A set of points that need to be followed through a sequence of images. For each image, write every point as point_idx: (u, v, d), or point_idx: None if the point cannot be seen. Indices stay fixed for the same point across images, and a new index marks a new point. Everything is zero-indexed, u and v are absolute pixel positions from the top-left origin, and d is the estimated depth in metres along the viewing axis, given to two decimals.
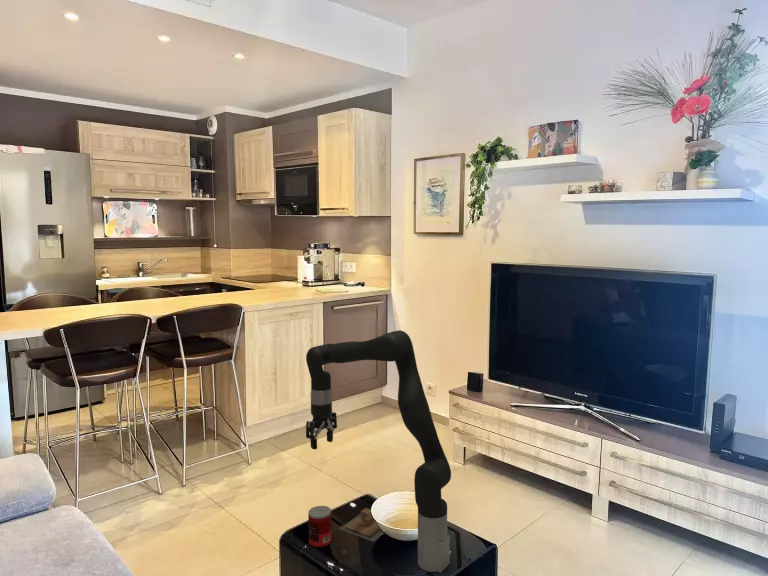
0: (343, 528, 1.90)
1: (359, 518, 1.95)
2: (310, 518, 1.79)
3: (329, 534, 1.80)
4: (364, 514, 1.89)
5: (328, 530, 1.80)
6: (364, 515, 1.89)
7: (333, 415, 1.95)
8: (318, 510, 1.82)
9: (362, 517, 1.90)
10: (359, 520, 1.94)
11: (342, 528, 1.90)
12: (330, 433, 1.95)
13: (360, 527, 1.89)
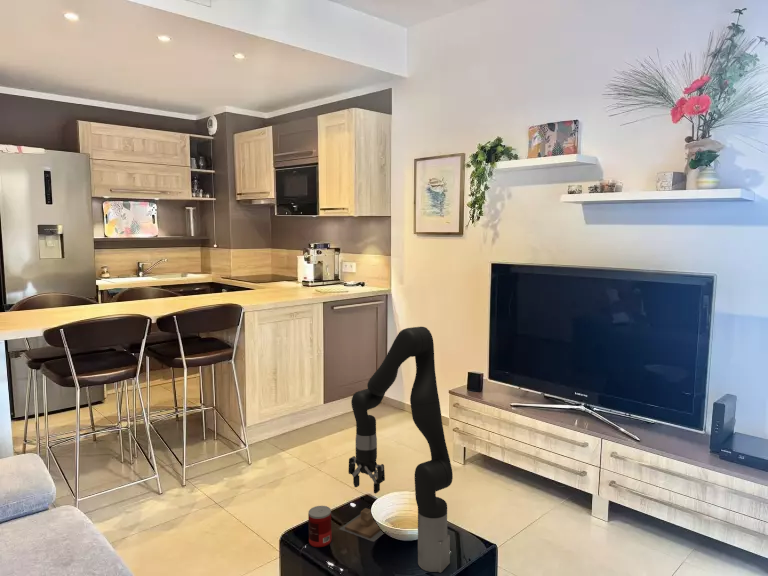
0: (343, 528, 1.90)
1: (359, 518, 1.95)
2: (310, 518, 1.79)
3: (329, 534, 1.80)
4: (364, 514, 1.89)
5: (328, 530, 1.80)
6: (364, 515, 1.89)
7: None
8: (318, 510, 1.82)
9: (362, 517, 1.90)
10: (359, 520, 1.94)
11: (342, 528, 1.90)
12: (358, 477, 1.92)
13: (360, 527, 1.89)
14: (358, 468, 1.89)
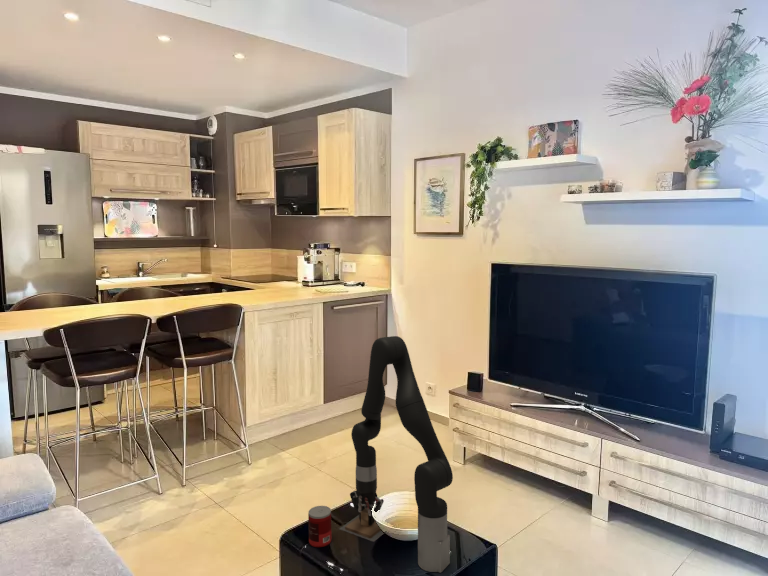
0: (343, 528, 1.90)
1: None
2: (310, 518, 1.79)
3: (329, 534, 1.80)
4: (364, 514, 1.89)
5: (328, 530, 1.80)
6: (364, 515, 1.89)
7: None
8: (318, 510, 1.82)
9: (362, 517, 1.90)
10: (359, 520, 1.94)
11: (342, 528, 1.90)
12: None
13: (360, 527, 1.89)
14: (360, 500, 1.90)
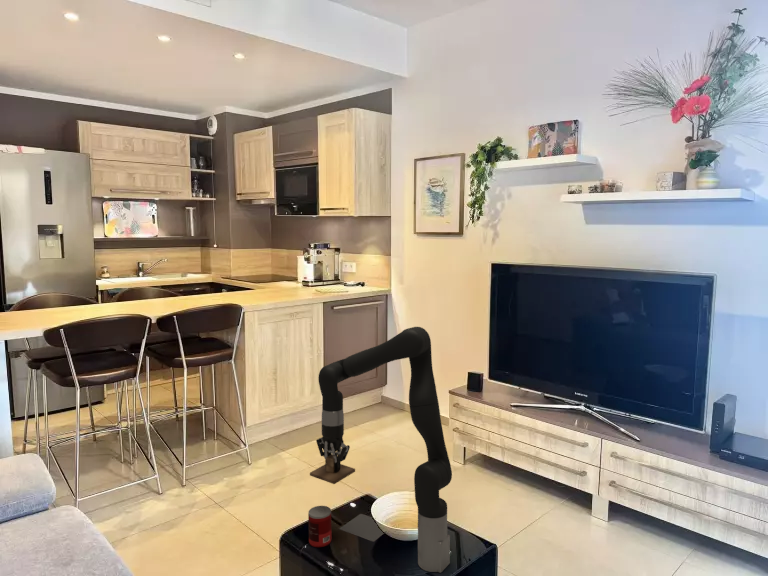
0: (343, 528, 1.90)
1: (326, 465, 1.88)
2: (310, 518, 1.79)
3: (329, 534, 1.80)
4: (329, 460, 1.82)
5: (328, 530, 1.80)
6: (329, 461, 1.82)
7: None
8: (318, 510, 1.82)
9: (327, 463, 1.82)
10: (325, 467, 1.86)
11: (342, 528, 1.90)
12: None
13: (325, 473, 1.81)
14: (325, 446, 1.82)
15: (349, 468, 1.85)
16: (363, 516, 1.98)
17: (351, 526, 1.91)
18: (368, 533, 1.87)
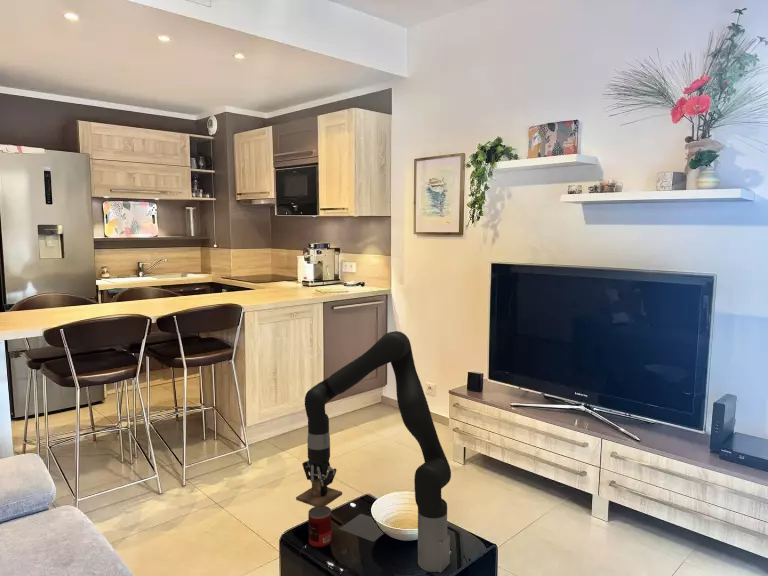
0: (343, 528, 1.90)
1: None
2: (310, 518, 1.79)
3: (329, 534, 1.80)
4: (315, 484, 1.79)
5: (328, 530, 1.80)
6: (316, 485, 1.79)
7: None
8: (318, 510, 1.82)
9: (314, 487, 1.80)
10: None
11: (342, 528, 1.90)
12: None
13: (312, 497, 1.79)
14: (312, 470, 1.80)
15: (336, 491, 1.82)
16: (363, 516, 1.98)
17: (351, 526, 1.91)
18: (368, 533, 1.87)
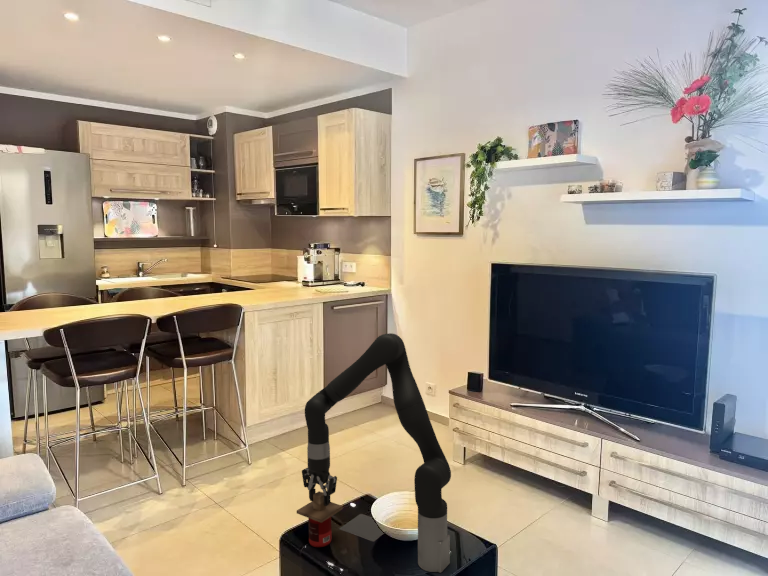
0: (343, 528, 1.90)
1: (313, 502, 1.85)
2: None
3: (329, 534, 1.80)
4: (316, 498, 1.80)
5: (328, 530, 1.80)
6: (317, 499, 1.79)
7: None
8: None
9: (314, 501, 1.80)
10: (312, 504, 1.84)
11: (342, 528, 1.90)
12: (314, 490, 1.83)
13: (312, 511, 1.79)
14: (311, 479, 1.80)
15: (336, 505, 1.83)
16: (363, 516, 1.98)
17: (351, 526, 1.91)
18: (368, 533, 1.87)
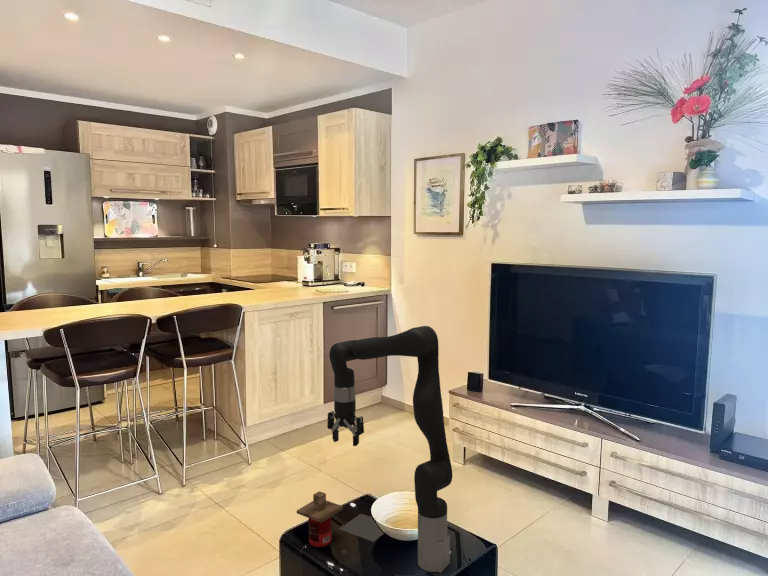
0: (343, 528, 1.90)
1: (313, 502, 1.85)
2: None
3: (329, 534, 1.80)
4: (316, 498, 1.80)
5: (328, 530, 1.80)
6: (317, 499, 1.79)
7: None
8: None
9: (314, 501, 1.80)
10: (312, 504, 1.84)
11: (342, 528, 1.90)
12: (337, 431, 1.91)
13: (312, 511, 1.79)
14: (337, 422, 1.88)
15: (336, 505, 1.83)
16: (363, 516, 1.98)
17: (351, 526, 1.91)
18: (368, 533, 1.87)
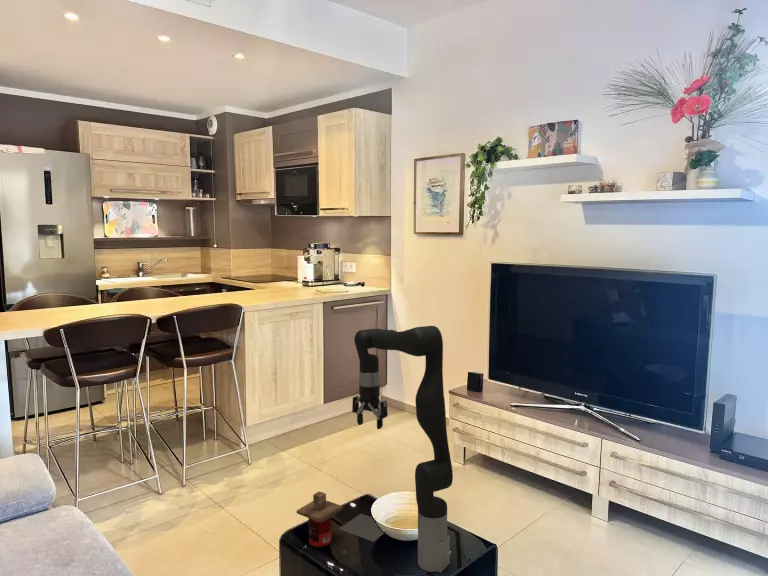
0: (343, 528, 1.90)
1: (313, 502, 1.85)
2: None
3: (329, 534, 1.80)
4: (316, 498, 1.80)
5: (328, 530, 1.80)
6: (317, 499, 1.79)
7: None
8: None
9: (314, 501, 1.80)
10: (312, 504, 1.84)
11: (342, 528, 1.90)
12: (362, 415, 2.00)
13: (312, 511, 1.79)
14: (362, 405, 1.96)
15: (336, 505, 1.83)
16: (363, 516, 1.98)
17: (351, 526, 1.91)
18: (368, 533, 1.87)
